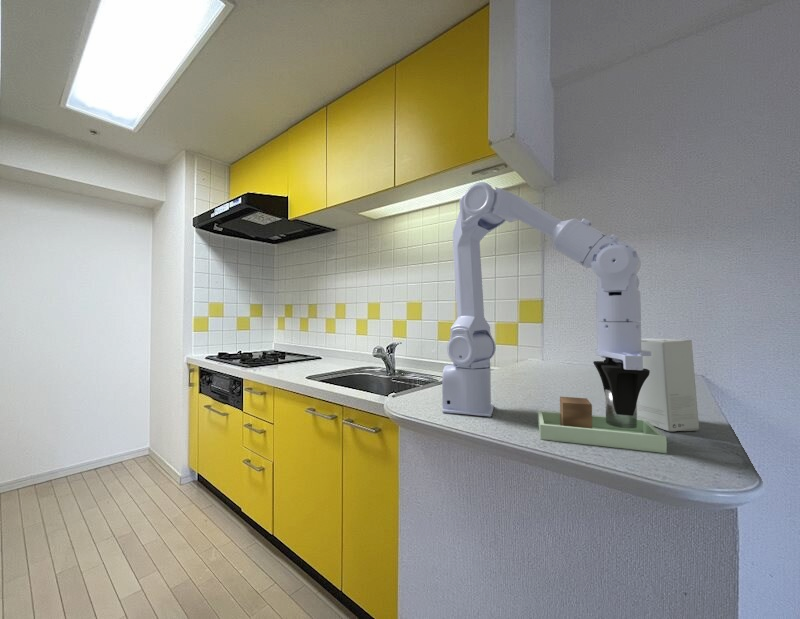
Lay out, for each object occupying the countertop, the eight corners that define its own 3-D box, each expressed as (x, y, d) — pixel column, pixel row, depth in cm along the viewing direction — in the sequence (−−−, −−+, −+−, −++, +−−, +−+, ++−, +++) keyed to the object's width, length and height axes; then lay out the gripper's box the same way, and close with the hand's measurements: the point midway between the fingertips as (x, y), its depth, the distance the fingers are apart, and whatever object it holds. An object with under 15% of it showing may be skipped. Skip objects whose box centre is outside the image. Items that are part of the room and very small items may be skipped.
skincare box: (700, 431, 54) (697, 339, 54) (667, 433, 53) (665, 340, 54) (653, 415, 62) (652, 336, 63) (625, 417, 62) (623, 337, 62)
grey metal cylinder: (608, 426, 50) (608, 393, 50) (603, 418, 53) (602, 387, 54) (640, 429, 48) (640, 395, 48) (632, 421, 52) (632, 389, 52)
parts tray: (540, 439, 51) (540, 424, 51) (538, 423, 59) (537, 410, 59) (666, 453, 46) (666, 437, 46) (646, 433, 53) (645, 419, 53)
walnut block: (563, 434, 52) (562, 402, 52) (560, 426, 56) (559, 396, 56) (592, 437, 50) (591, 404, 51) (587, 429, 54) (586, 398, 54)
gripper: (669, 322, 43) (672, 428, 43) (633, 320, 57) (635, 400, 56) (606, 322, 45) (608, 422, 45) (586, 321, 59) (588, 397, 59)
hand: (620, 410), depth 51 cm, fingers closed on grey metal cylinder, 4 cm apart
